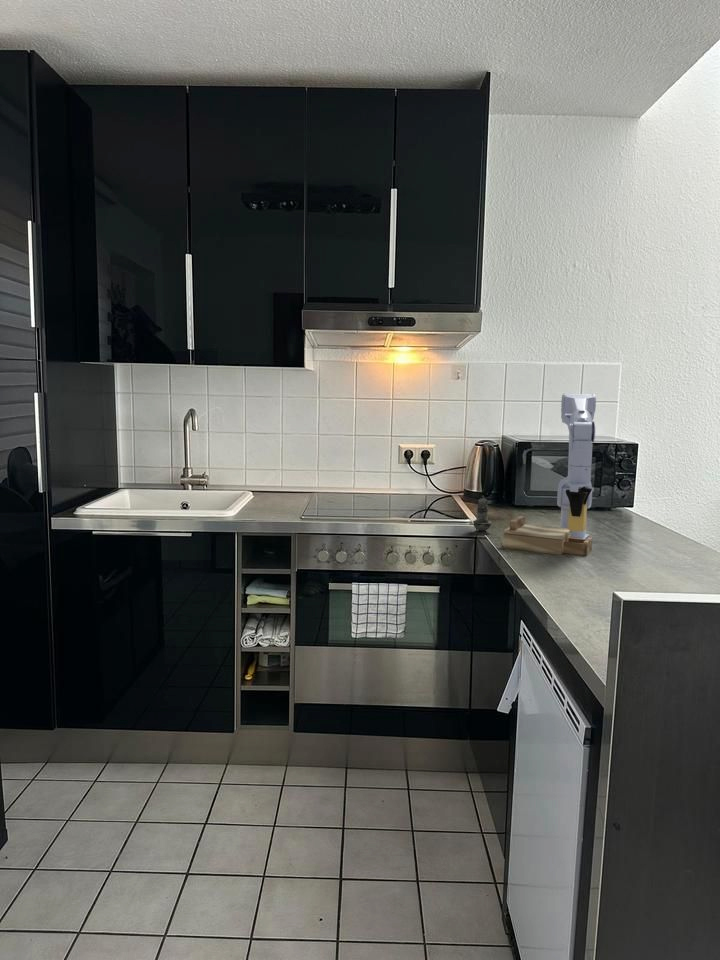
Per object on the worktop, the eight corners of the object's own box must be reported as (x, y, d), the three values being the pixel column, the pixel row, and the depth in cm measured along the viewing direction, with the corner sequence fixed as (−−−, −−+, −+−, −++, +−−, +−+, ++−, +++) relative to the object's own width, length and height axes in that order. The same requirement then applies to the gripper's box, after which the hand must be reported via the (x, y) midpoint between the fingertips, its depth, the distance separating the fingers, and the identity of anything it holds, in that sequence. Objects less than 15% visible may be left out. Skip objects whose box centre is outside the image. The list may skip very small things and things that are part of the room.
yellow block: (570, 527, 183) (572, 503, 182) (585, 529, 181) (587, 504, 180) (567, 529, 180) (569, 504, 179) (582, 531, 178) (584, 506, 177)
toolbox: (515, 539, 196) (516, 526, 195) (593, 548, 185) (594, 534, 185) (503, 547, 185) (503, 533, 184) (584, 557, 174) (585, 543, 173)
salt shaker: (478, 530, 209) (479, 493, 208) (494, 532, 206) (496, 495, 204) (468, 533, 205) (469, 495, 203) (485, 535, 201) (486, 497, 200)
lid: (516, 525, 195) (516, 514, 195) (571, 531, 188) (572, 520, 187) (503, 533, 184) (504, 521, 184) (561, 539, 176) (562, 527, 176)
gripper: (570, 462, 187) (568, 509, 188) (559, 467, 174) (556, 517, 176) (596, 464, 183) (593, 512, 185) (586, 468, 171) (584, 520, 172)
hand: (577, 514), depth 180 cm, fingers closed on yellow block, 4 cm apart
